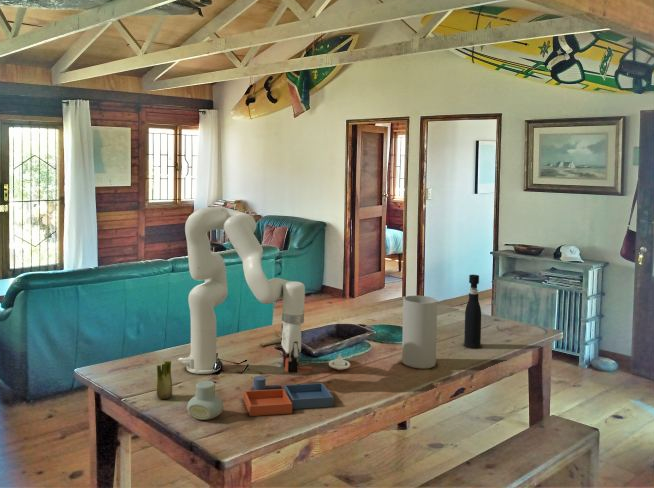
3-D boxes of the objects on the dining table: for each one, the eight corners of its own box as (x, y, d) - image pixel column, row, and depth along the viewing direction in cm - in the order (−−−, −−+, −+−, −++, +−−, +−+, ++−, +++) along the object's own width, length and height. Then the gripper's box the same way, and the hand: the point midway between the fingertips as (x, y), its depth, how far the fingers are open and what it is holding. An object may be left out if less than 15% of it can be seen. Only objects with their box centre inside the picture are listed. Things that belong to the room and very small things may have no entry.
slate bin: (292, 409, 188) (292, 399, 188) (284, 393, 200) (284, 385, 200) (333, 406, 191) (333, 397, 191) (322, 391, 203) (322, 382, 203)
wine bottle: (463, 347, 251) (465, 276, 250) (464, 343, 257) (466, 273, 256) (480, 349, 249) (482, 277, 248) (480, 344, 255) (482, 274, 253)
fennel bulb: (157, 401, 193) (157, 365, 192) (153, 396, 198) (153, 360, 197) (174, 399, 195) (174, 362, 195) (170, 393, 200) (170, 358, 199)
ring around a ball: (348, 365, 228) (327, 364, 229) (349, 350, 228) (327, 350, 228) (351, 373, 220) (329, 372, 221) (351, 358, 220) (329, 357, 220)
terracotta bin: (249, 416, 183) (250, 406, 183) (243, 400, 195) (243, 391, 195) (292, 413, 185) (292, 403, 185) (283, 397, 197) (283, 388, 197)
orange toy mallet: (286, 372, 206) (287, 361, 205) (284, 368, 210) (284, 357, 209) (313, 371, 207) (313, 360, 207) (310, 367, 211) (310, 356, 211)
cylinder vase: (395, 363, 231) (397, 299, 229) (411, 356, 240) (413, 293, 238) (426, 371, 222) (427, 305, 221) (441, 363, 231) (442, 299, 230)
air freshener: (182, 418, 181) (183, 385, 180) (195, 408, 189) (195, 376, 188) (215, 424, 177) (216, 391, 176) (227, 413, 185) (227, 381, 184)
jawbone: (293, 337, 265) (293, 332, 265) (279, 351, 246) (280, 346, 246) (273, 333, 268) (274, 328, 268) (258, 347, 249) (259, 342, 249)
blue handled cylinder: (254, 392, 202) (254, 380, 201) (252, 387, 206) (252, 376, 205) (282, 390, 203) (282, 378, 203) (279, 386, 207) (279, 374, 207)
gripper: (277, 311, 214) (275, 361, 216) (287, 325, 198) (285, 379, 199) (297, 311, 216) (295, 361, 217) (309, 325, 199) (307, 379, 200)
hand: (291, 369), depth 208 cm, fingers closed on orange toy mallet, 4 cm apart
